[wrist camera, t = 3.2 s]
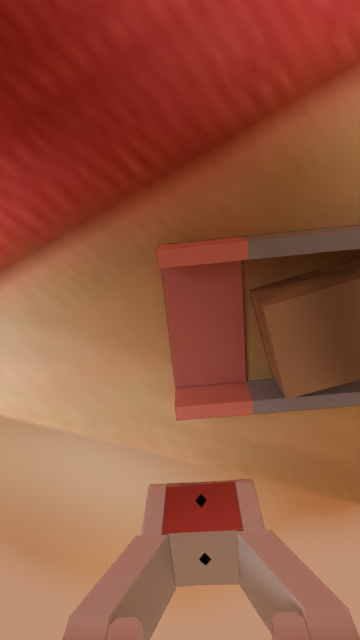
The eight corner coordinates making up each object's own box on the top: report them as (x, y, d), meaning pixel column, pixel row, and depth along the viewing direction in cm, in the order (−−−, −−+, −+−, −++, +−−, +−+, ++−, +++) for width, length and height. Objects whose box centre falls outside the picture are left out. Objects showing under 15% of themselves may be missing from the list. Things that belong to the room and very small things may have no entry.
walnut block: (268, 367, 23) (286, 399, 19) (248, 289, 21) (263, 307, 18) (383, 336, 22) (424, 362, 19) (372, 251, 21) (416, 261, 17)
